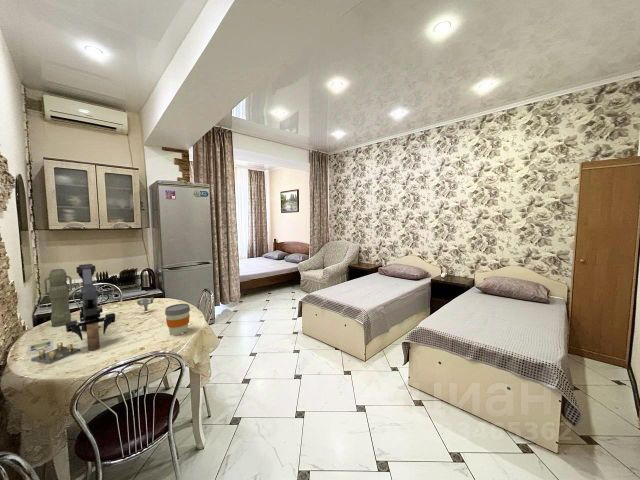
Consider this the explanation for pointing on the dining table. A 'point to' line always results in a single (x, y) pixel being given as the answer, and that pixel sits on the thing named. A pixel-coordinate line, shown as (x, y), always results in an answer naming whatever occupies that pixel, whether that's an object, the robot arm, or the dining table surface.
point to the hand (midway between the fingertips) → (93, 337)
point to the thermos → (59, 297)
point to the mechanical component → (145, 302)
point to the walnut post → (93, 336)
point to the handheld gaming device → (39, 347)
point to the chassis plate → (58, 356)
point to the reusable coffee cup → (177, 318)
